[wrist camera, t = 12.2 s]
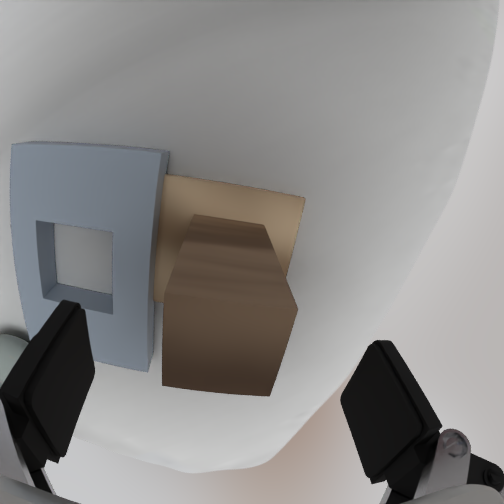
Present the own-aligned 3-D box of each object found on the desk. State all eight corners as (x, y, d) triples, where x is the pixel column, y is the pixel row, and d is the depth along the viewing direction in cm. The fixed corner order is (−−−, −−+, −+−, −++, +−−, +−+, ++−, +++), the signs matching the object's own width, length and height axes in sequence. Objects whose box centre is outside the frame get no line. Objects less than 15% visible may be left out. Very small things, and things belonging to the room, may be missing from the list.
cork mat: (166, 174, 18) (164, 175, 18) (303, 197, 20) (305, 199, 19) (154, 296, 21) (153, 301, 21) (273, 313, 23) (274, 317, 22)
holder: (31, 141, 16) (11, 144, 14) (169, 150, 18) (161, 153, 15) (42, 325, 22) (30, 341, 19) (153, 352, 23) (147, 372, 21)
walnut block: (194, 214, 19) (164, 292, 9) (264, 224, 19) (298, 309, 10) (186, 277, 20) (162, 385, 11) (251, 286, 21) (269, 396, 12)
